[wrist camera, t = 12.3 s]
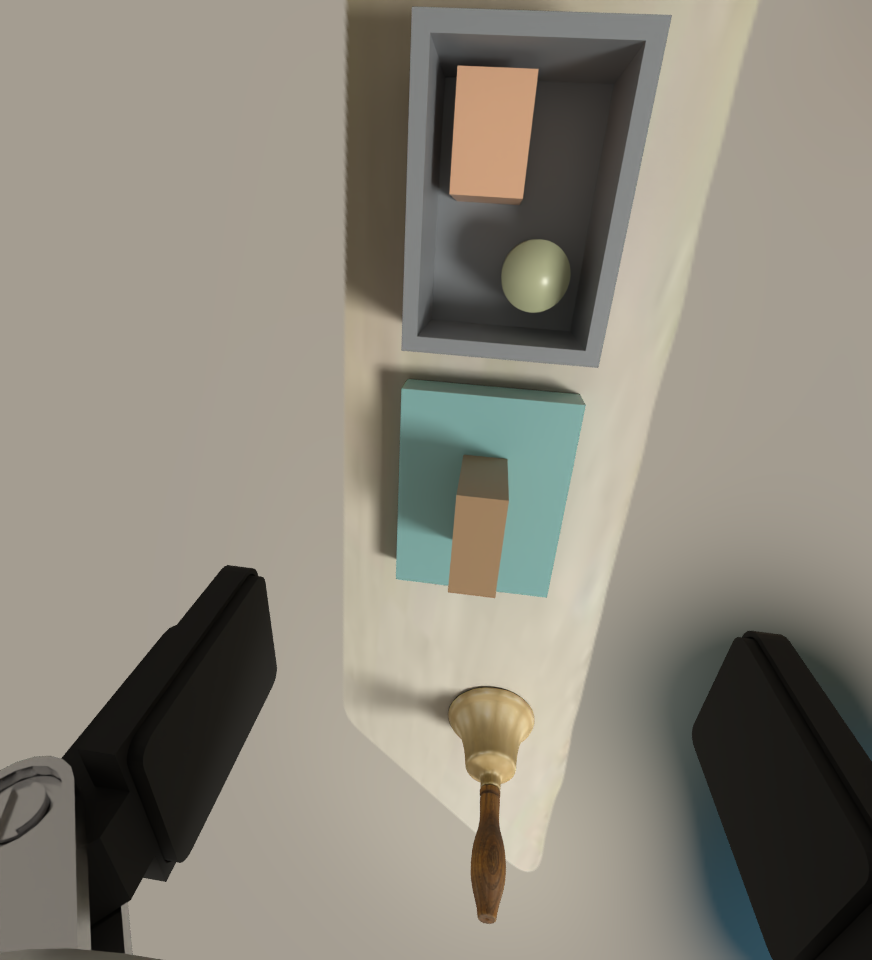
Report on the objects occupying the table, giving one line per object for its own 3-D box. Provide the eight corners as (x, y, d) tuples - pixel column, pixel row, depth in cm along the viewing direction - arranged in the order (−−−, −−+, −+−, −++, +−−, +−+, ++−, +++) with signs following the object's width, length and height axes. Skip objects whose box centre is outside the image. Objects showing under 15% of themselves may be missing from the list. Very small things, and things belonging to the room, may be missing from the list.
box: (432, 62, 26) (411, 6, 20) (630, 69, 26) (671, 15, 19) (420, 329, 33) (401, 350, 26) (579, 342, 32) (598, 367, 26)
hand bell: (543, 740, 49) (561, 947, 34) (463, 749, 51) (448, 949, 36) (522, 680, 45) (532, 881, 31) (437, 692, 47) (410, 887, 33)
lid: (407, 378, 34) (381, 418, 27) (579, 394, 33) (603, 439, 26) (401, 560, 41) (379, 633, 33) (544, 577, 40) (554, 656, 33)
